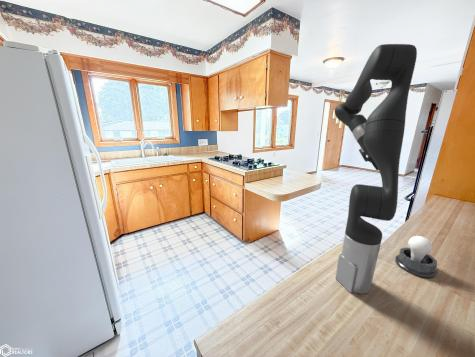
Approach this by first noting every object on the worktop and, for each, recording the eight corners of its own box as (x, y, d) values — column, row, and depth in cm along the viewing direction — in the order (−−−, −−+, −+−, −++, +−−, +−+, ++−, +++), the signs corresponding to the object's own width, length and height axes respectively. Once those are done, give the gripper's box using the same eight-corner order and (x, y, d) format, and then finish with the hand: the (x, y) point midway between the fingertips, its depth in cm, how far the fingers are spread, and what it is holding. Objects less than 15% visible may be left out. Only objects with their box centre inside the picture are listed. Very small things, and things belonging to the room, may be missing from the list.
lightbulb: (431, 271, 65) (439, 243, 62) (410, 268, 66) (418, 241, 63) (418, 259, 70) (425, 233, 67) (399, 257, 72) (406, 231, 69)
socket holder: (422, 281, 62) (425, 270, 60) (387, 259, 72) (390, 249, 70) (444, 274, 64) (448, 263, 63) (408, 254, 75) (411, 244, 73)
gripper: (359, 130, 74) (382, 164, 67) (386, 129, 78) (411, 161, 71) (346, 142, 81) (366, 175, 73) (372, 141, 85) (393, 172, 77)
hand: (388, 168), depth 72 cm, fingers open, 8 cm apart
